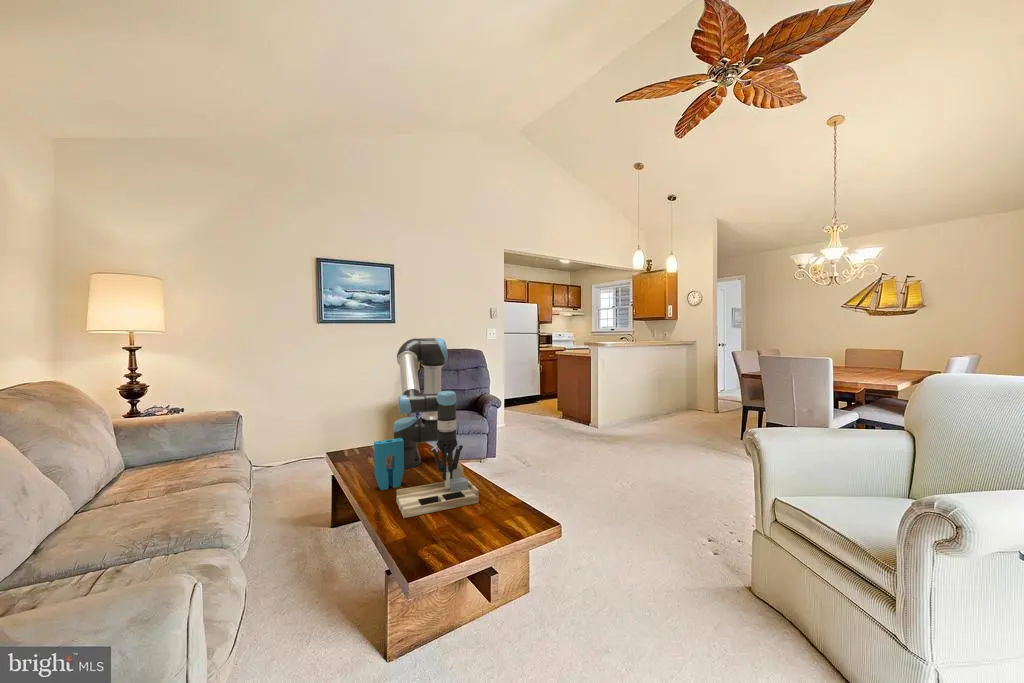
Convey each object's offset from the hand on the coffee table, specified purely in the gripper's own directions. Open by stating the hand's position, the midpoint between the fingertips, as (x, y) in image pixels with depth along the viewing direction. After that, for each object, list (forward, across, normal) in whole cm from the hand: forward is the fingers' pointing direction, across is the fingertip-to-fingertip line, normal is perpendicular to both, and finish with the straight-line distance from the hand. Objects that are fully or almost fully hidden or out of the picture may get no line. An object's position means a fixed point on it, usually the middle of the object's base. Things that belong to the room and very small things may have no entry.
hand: (447, 487), depth 160 cm
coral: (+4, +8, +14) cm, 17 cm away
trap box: (+4, -5, -3) cm, 7 cm away
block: (+1, +4, -1) cm, 4 cm away
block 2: (+4, -19, +22) cm, 30 cm away
